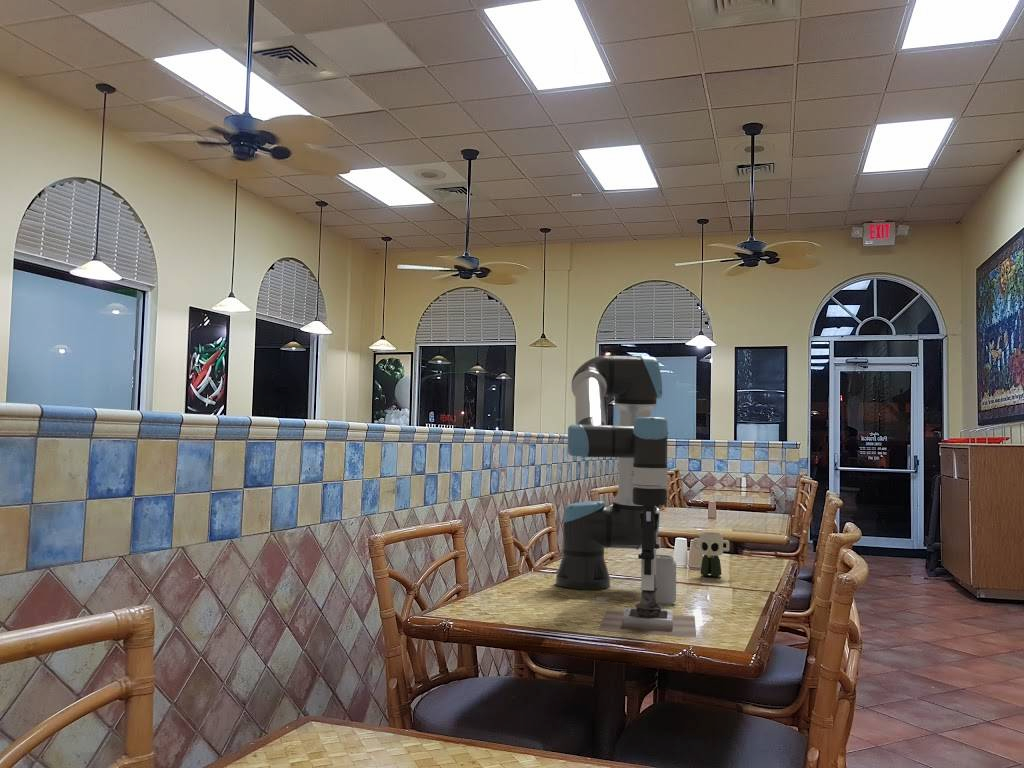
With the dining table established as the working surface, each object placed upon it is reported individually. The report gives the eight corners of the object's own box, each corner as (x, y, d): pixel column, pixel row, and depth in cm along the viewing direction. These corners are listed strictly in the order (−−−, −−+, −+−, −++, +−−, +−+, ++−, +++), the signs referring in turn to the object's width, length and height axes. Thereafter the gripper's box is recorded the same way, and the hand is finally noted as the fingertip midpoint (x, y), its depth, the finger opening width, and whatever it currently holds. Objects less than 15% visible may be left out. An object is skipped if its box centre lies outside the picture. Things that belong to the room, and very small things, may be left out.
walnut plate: (606, 615, 186) (606, 610, 186) (694, 621, 182) (694, 616, 182) (598, 636, 167) (598, 630, 167) (696, 643, 163) (696, 637, 163)
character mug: (690, 576, 242) (691, 533, 243) (694, 573, 249) (695, 531, 250) (727, 579, 238) (728, 535, 239) (730, 576, 245) (731, 533, 246)
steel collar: (626, 616, 181) (626, 607, 181) (673, 619, 179) (673, 610, 179) (622, 626, 171) (623, 617, 171) (672, 630, 168) (672, 620, 169)
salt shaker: (634, 619, 178) (634, 564, 179) (661, 620, 177) (661, 565, 178) (635, 625, 172) (636, 568, 173) (663, 626, 171) (663, 569, 172)
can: (679, 606, 198) (679, 558, 199) (649, 606, 198) (649, 557, 198) (671, 600, 205) (672, 553, 206) (642, 600, 205) (643, 553, 206)
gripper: (635, 482, 190) (634, 572, 188) (629, 490, 165) (627, 594, 164) (668, 483, 188) (667, 574, 187) (666, 491, 164) (665, 596, 163)
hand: (648, 584), depth 175 cm, fingers open, 13 cm apart
